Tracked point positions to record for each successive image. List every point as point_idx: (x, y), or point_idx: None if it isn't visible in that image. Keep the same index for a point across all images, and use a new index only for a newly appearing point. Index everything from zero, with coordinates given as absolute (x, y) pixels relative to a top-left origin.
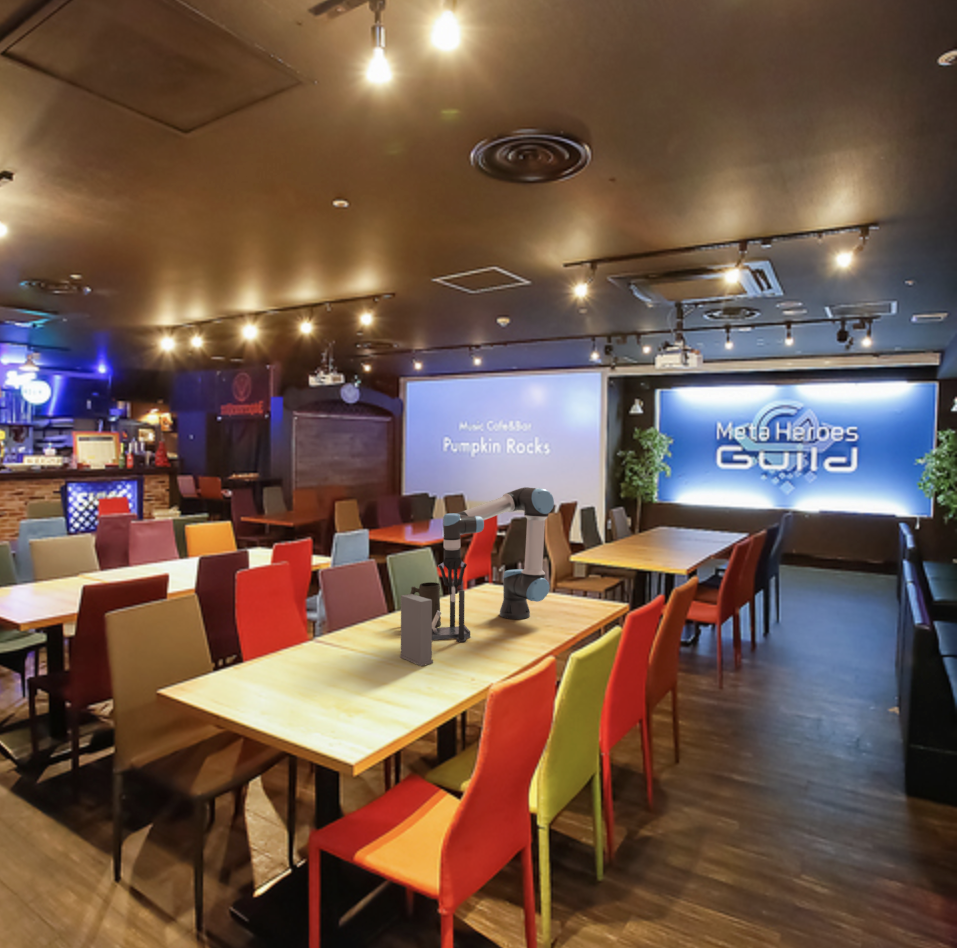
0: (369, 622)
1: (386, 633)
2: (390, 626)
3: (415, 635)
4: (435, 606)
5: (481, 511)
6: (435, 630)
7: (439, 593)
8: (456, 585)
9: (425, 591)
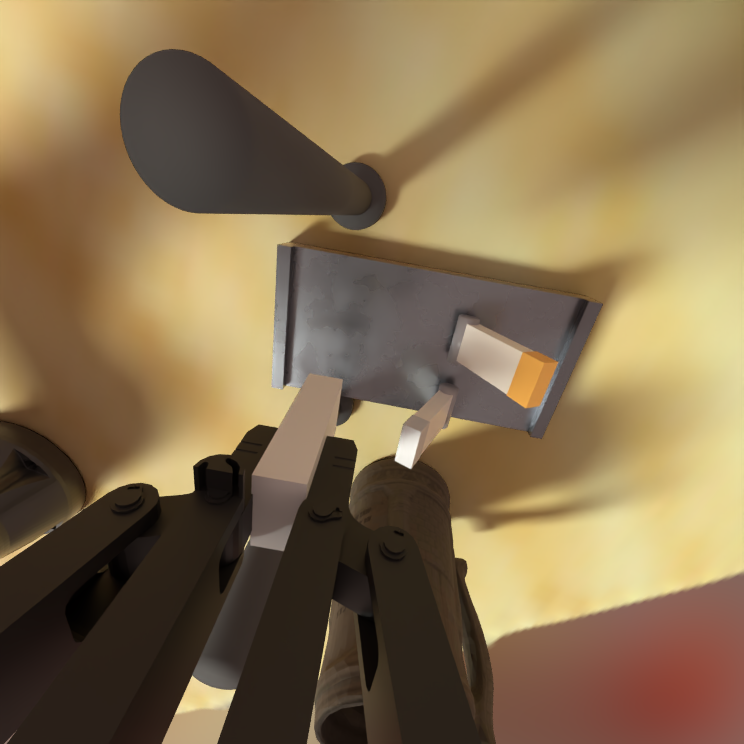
0: (600, 607)
1: (633, 469)
2: (556, 540)
3: None
4: None
5: None
6: (472, 319)
7: (336, 631)
8: (214, 491)
9: None
